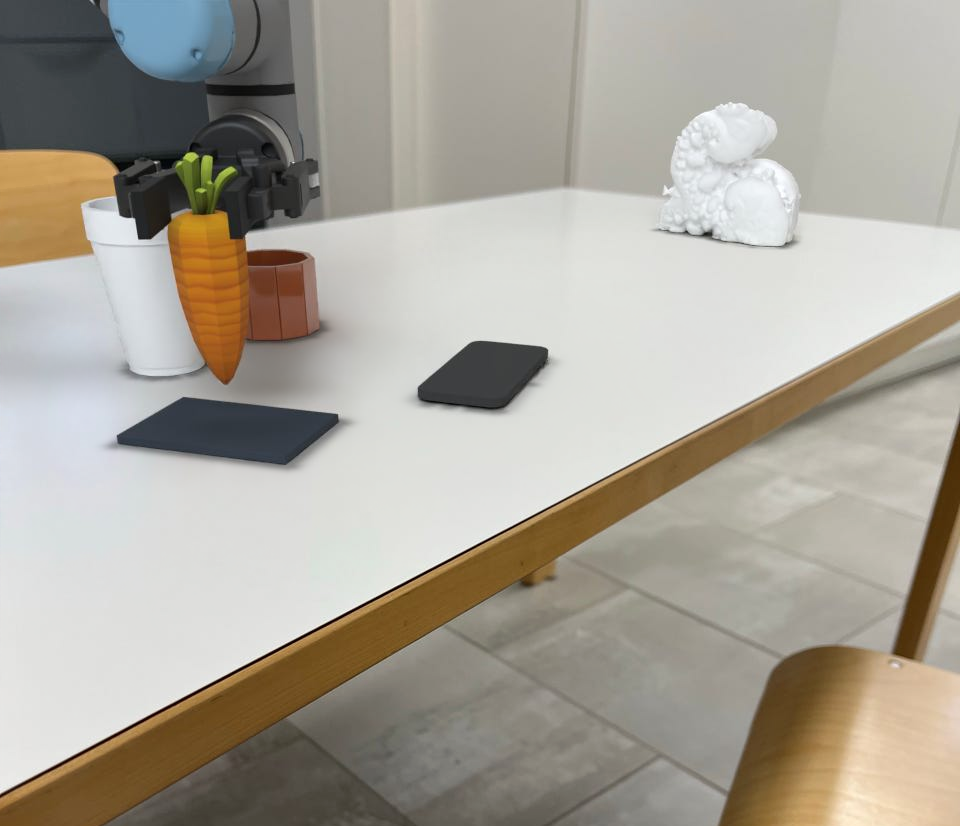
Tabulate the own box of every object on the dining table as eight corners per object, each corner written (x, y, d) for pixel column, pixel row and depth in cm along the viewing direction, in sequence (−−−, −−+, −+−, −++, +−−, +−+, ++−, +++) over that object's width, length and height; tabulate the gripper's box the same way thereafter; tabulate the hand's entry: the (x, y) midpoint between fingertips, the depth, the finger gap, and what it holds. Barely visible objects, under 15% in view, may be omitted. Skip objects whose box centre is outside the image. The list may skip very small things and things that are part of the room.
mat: (117, 443, 72) (116, 435, 72) (184, 404, 79) (183, 396, 79) (285, 464, 69) (284, 456, 69) (338, 421, 76) (338, 413, 76)
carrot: (224, 369, 75) (194, 144, 67) (276, 380, 73) (252, 148, 65) (174, 387, 72) (137, 151, 64) (227, 399, 69) (196, 157, 62)
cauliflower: (837, 178, 126) (712, 76, 126) (731, 311, 137) (617, 218, 138) (851, 169, 141) (740, 78, 141) (754, 289, 153) (652, 205, 153)
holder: (212, 336, 96) (203, 264, 93) (255, 314, 103) (248, 246, 100) (294, 343, 94) (287, 270, 91) (332, 320, 101) (327, 251, 98)
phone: (412, 390, 80) (472, 339, 92) (412, 400, 80) (472, 348, 92) (502, 400, 78) (552, 347, 90) (502, 411, 78) (551, 356, 91)
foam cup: (90, 364, 88) (59, 201, 81) (185, 343, 94) (164, 190, 87) (146, 389, 82) (117, 217, 76) (244, 366, 88) (225, 204, 81)
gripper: (356, 216, 84) (340, 279, 64) (135, 217, 83) (49, 281, 63) (351, 114, 80) (332, 147, 60) (119, 113, 79) (21, 146, 59)
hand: (187, 215), depth 62 cm, fingers closed on carrot, 5 cm apart
